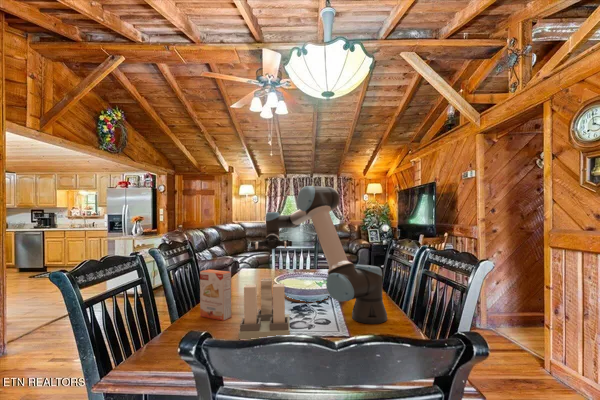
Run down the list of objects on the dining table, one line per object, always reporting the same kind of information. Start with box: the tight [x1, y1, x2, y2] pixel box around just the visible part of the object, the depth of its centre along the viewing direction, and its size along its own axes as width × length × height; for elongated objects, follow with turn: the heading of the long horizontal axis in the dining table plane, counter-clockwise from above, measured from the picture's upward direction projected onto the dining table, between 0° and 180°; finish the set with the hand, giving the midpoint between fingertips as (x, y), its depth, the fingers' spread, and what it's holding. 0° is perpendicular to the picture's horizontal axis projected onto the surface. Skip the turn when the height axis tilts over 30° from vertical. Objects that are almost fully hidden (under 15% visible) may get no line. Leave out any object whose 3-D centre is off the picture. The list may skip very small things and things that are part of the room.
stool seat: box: [238, 283, 291, 340], centre depth 127 cm, size 19×19×19 cm
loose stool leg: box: [260, 278, 273, 314], centre depth 133 cm, size 4×4×16 cm
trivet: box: [285, 295, 329, 304], centre depth 176 cm, size 25×25×2 cm
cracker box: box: [199, 269, 233, 322], centre depth 144 cm, size 14×6×21 cm, turn 62°
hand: (270, 245), depth 147 cm, fingers open, 13 cm apart
